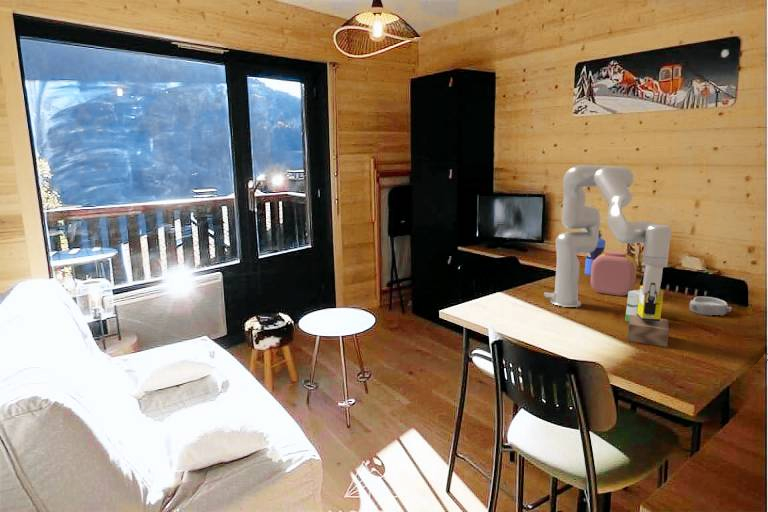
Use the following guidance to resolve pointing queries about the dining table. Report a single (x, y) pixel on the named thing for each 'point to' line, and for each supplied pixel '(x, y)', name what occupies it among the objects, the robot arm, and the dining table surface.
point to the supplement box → (642, 306)
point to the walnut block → (648, 331)
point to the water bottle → (594, 254)
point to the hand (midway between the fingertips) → (649, 310)
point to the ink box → (632, 304)
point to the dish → (709, 306)
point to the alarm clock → (613, 273)
